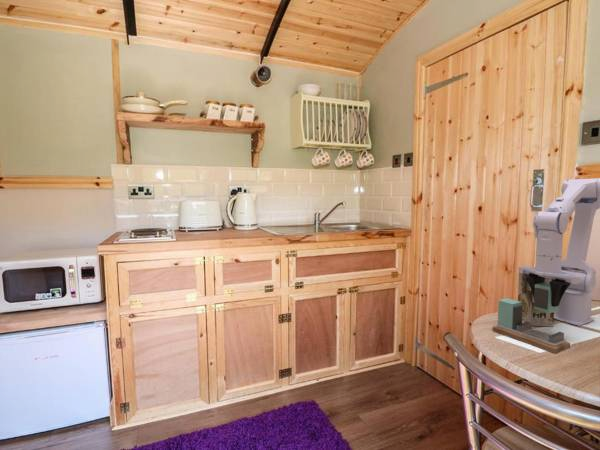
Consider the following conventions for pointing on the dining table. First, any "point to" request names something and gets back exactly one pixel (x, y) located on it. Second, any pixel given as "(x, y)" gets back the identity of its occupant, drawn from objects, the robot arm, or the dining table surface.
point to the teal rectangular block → (543, 298)
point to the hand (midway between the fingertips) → (546, 303)
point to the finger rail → (525, 328)
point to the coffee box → (532, 304)
